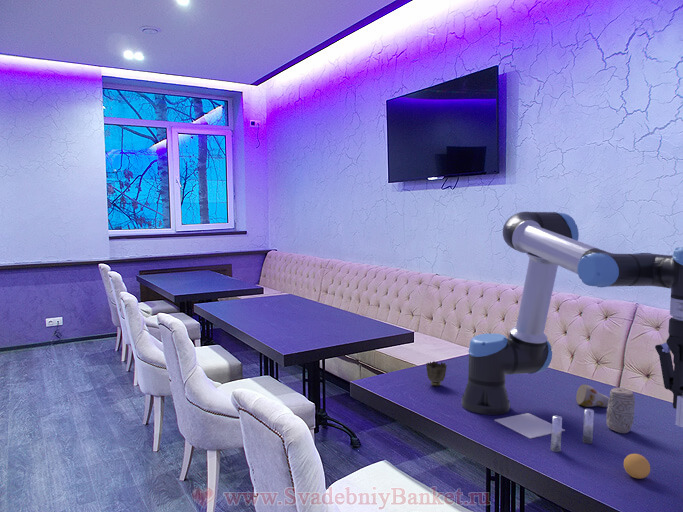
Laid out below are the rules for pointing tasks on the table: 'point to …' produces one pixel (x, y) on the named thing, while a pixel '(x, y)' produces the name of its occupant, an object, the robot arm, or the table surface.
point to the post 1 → (556, 433)
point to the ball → (637, 466)
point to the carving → (620, 410)
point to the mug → (590, 397)
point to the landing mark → (527, 425)
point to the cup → (436, 372)
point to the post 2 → (588, 426)
